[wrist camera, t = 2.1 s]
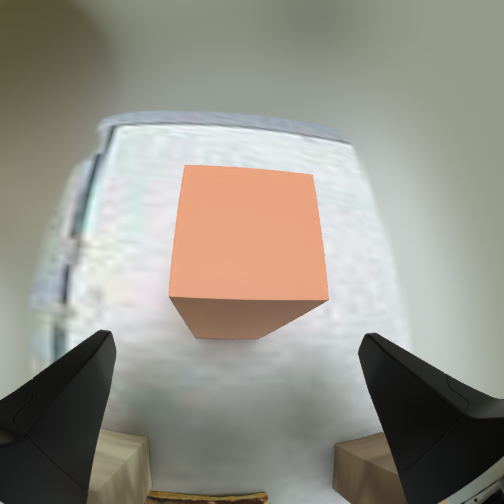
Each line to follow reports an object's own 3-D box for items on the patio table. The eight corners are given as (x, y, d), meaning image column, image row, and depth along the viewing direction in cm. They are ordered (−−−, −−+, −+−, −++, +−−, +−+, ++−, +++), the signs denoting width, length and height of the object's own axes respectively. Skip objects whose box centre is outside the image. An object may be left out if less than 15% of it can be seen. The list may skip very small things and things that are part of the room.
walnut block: (378, 474, 15) (458, 507, 6) (332, 488, 15) (403, 540, 5) (381, 432, 17) (471, 450, 8) (334, 444, 16) (417, 482, 7)
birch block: (152, 485, 13) (115, 557, 4) (98, 474, 13) (35, 526, 3) (147, 437, 15) (96, 492, 6) (92, 426, 14) (14, 458, 5)
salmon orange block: (258, 339, 19) (328, 299, 8) (195, 337, 18) (168, 296, 7) (256, 280, 21) (312, 174, 9) (198, 278, 20) (184, 164, 9)
